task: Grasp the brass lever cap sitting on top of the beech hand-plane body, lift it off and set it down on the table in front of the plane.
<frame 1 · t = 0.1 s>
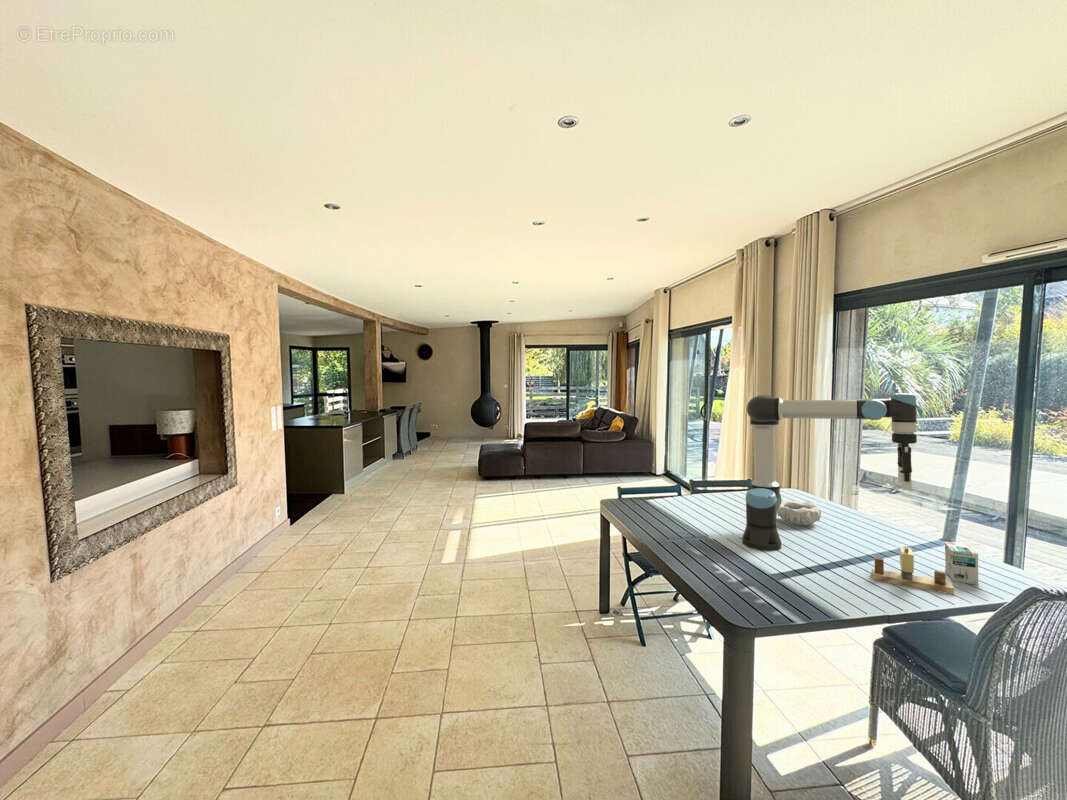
hand: (904, 486, 174), 28 cm above the table, fingers open, 13 cm apart
bowl: (798, 524, 221), on the table
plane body: (910, 583, 152), on the table
lever cap: (906, 568, 152), point 5 cm above the table, touching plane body
light bulb box: (961, 578, 155), on the table
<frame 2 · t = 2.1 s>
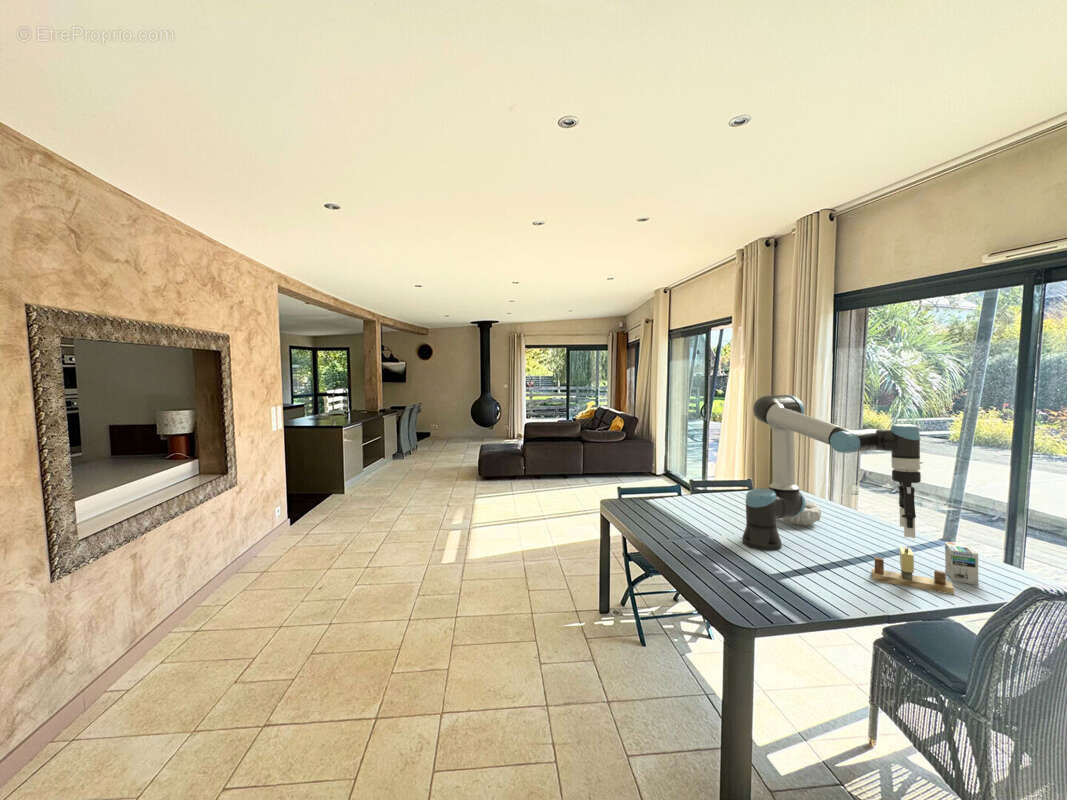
hand: (907, 531, 152), 18 cm above the table, fingers open, 13 cm apart
nothing on the table moved.
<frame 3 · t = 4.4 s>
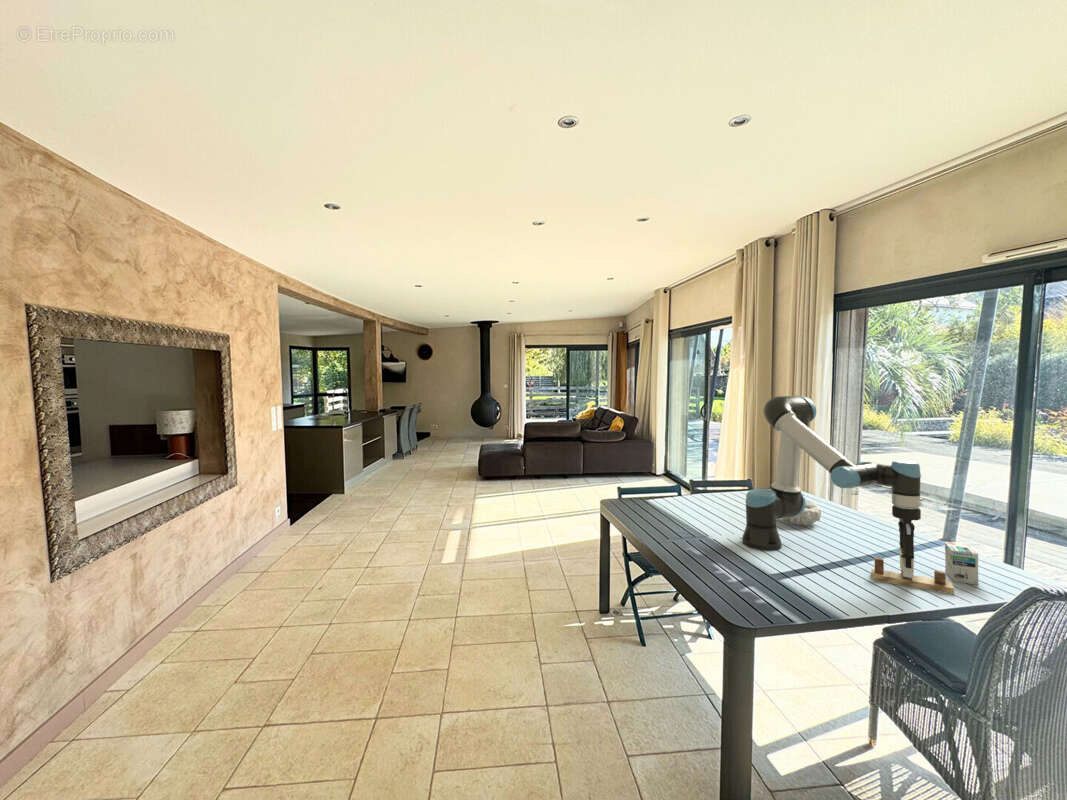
hand: (906, 572, 152), 4 cm above the table, fingers closed on lever cap, 7 cm apart
lever cap: (906, 568, 152), point 5 cm above the table, touching gripper, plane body
everything else where it was.
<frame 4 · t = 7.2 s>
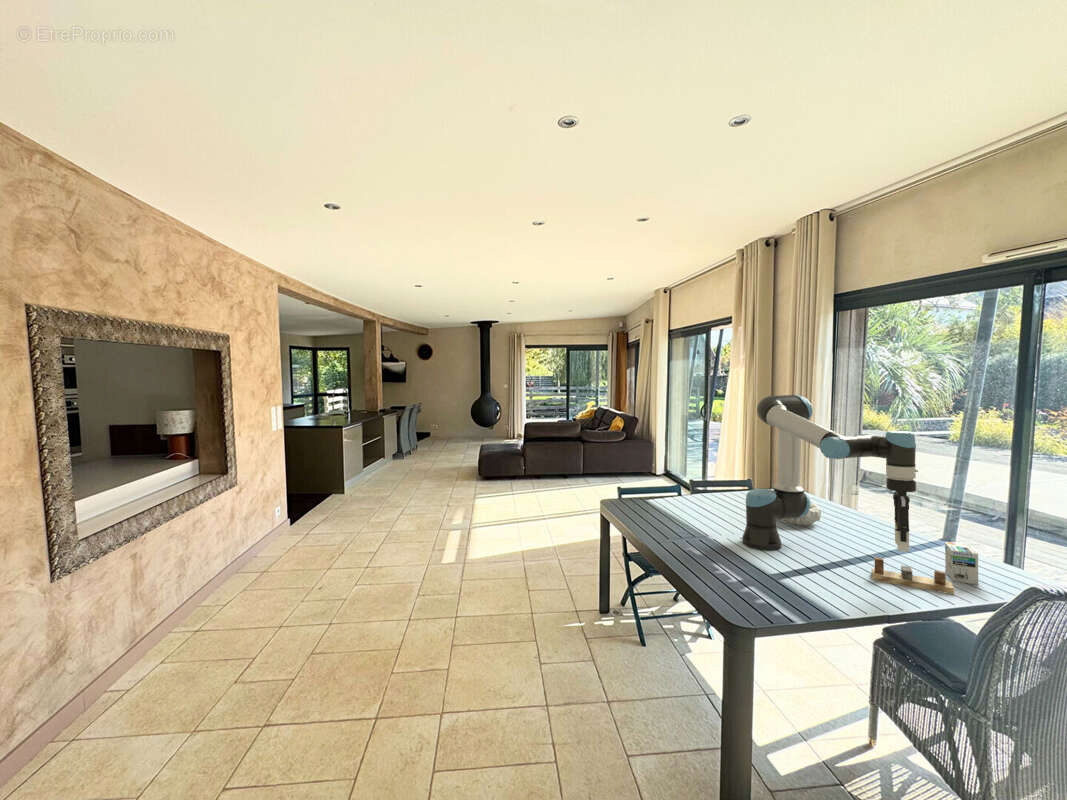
hand: (901, 547, 146), 14 cm above the table, fingers closed on lever cap, 7 cm apart
lever cap: (901, 542, 146), point 16 cm above the table, touching gripper
everything else where it was.
when the fingers open (0 cm above the table, at t = 10.0 s): lever cap drops 2 cm, on the table.
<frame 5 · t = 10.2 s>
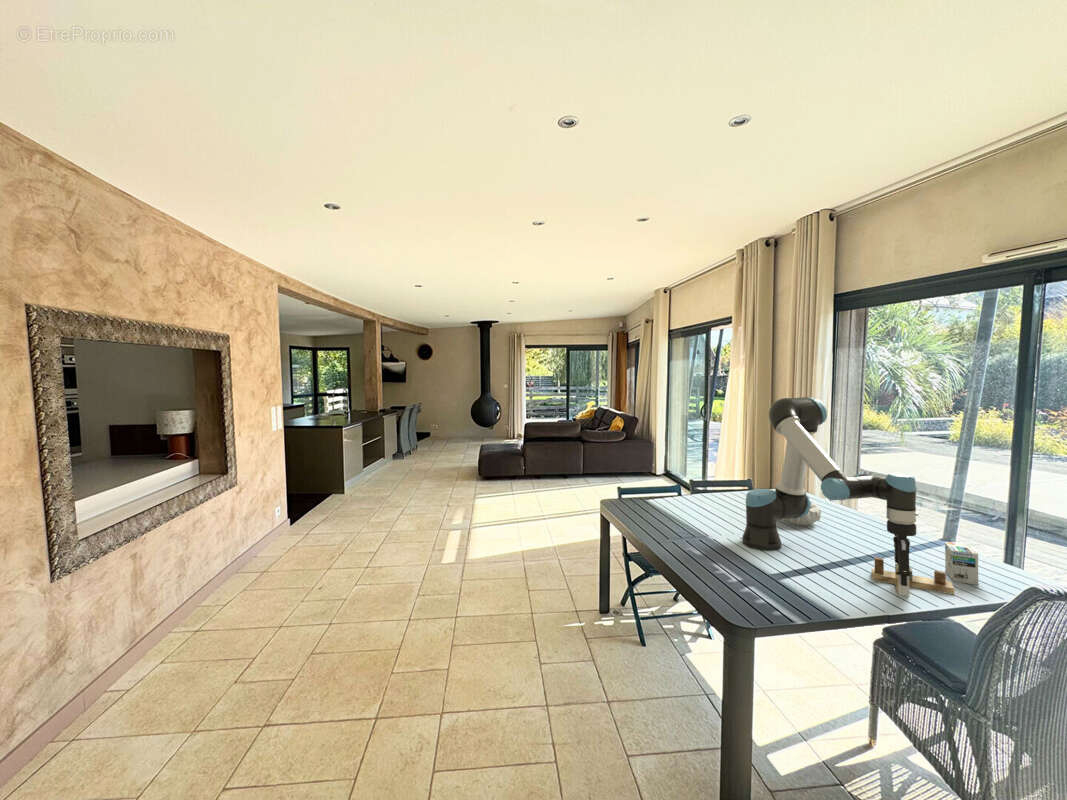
hand: (902, 588, 147), 1 cm above the table, fingers open, 9 cm apart
lever cap: (902, 590, 147), on the table
everything else where it was.
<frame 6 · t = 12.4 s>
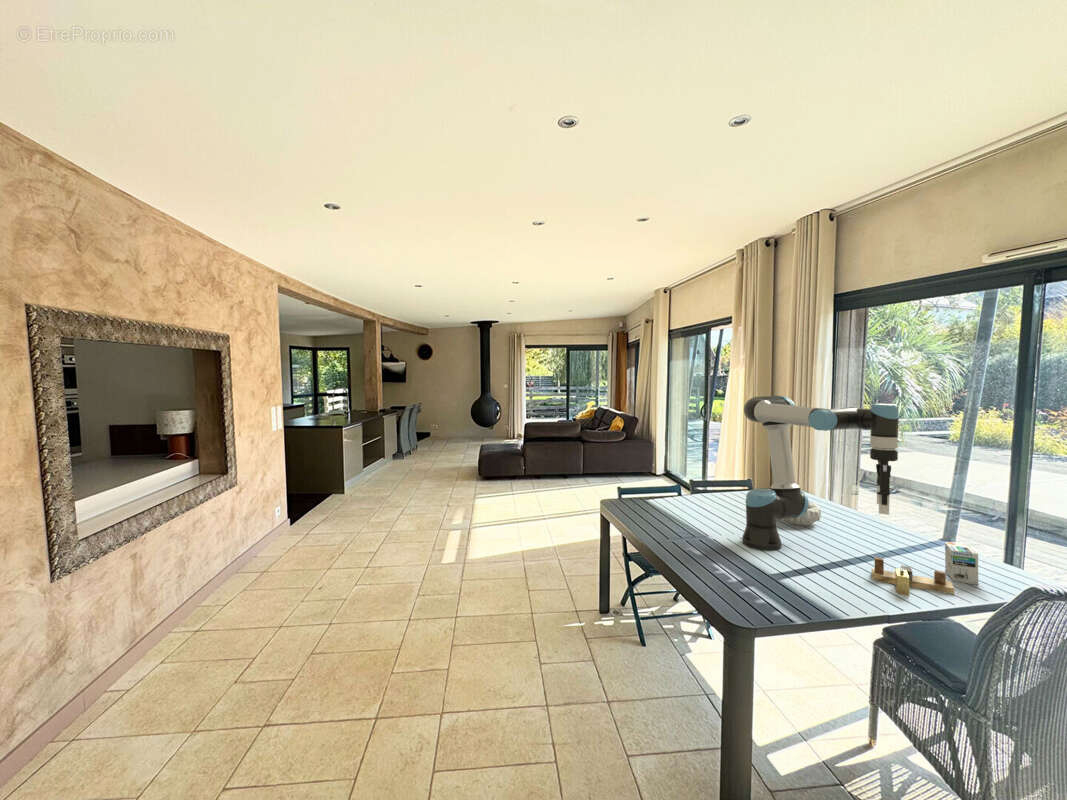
hand: (882, 509, 154), 25 cm above the table, fingers open, 13 cm apart
nothing on the table moved.
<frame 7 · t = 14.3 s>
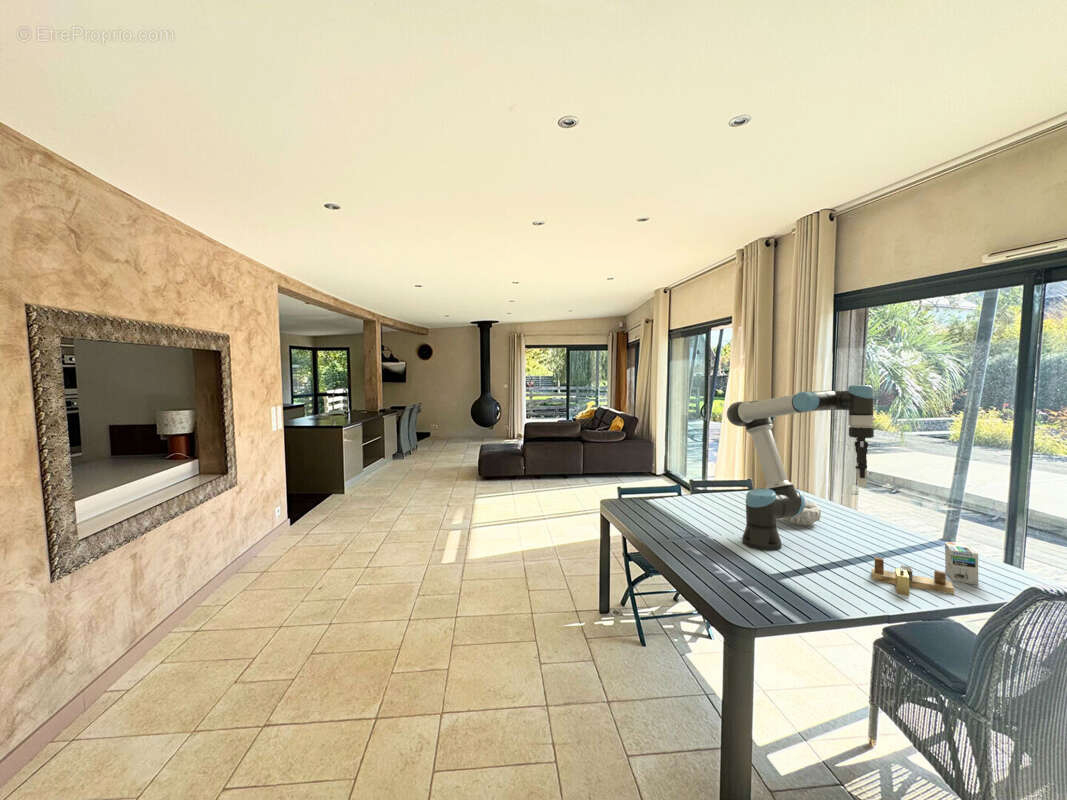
hand: (861, 483, 165), 32 cm above the table, fingers open, 13 cm apart
nothing on the table moved.
at the end: lever cap inside the target area (2.0 cm from its centre), on the table; lever cap touching table; the gripper is holding nothing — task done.
